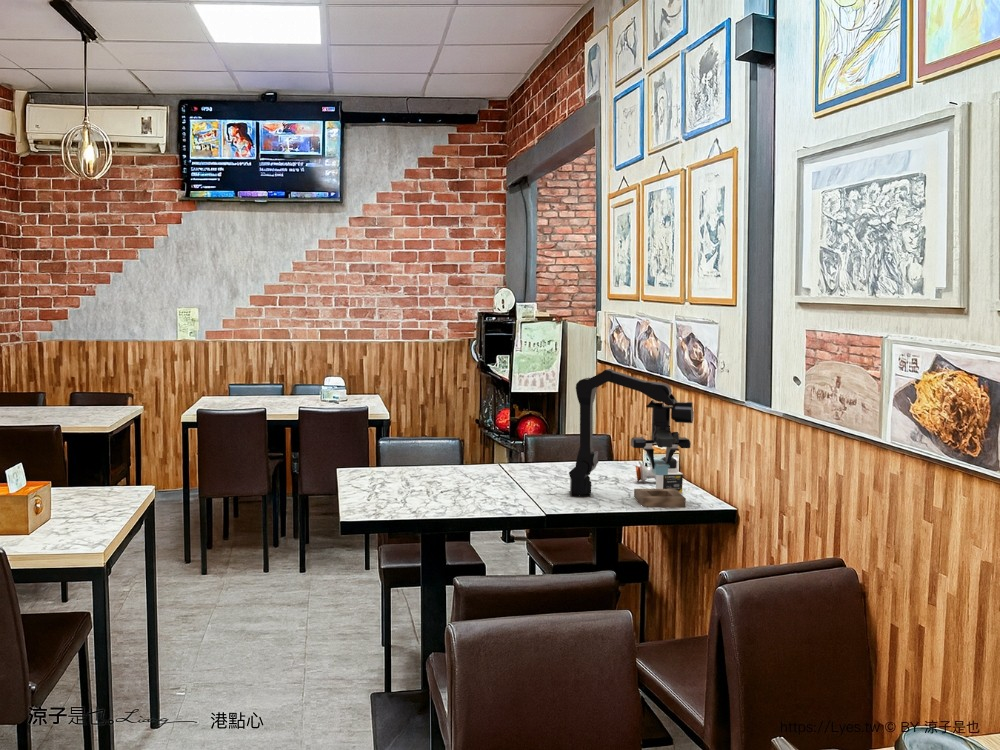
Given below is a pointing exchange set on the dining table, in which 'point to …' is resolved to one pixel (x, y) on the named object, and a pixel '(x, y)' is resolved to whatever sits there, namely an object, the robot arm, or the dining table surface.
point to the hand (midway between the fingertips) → (659, 468)
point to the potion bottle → (644, 473)
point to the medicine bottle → (671, 477)
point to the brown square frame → (660, 497)
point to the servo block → (660, 467)
